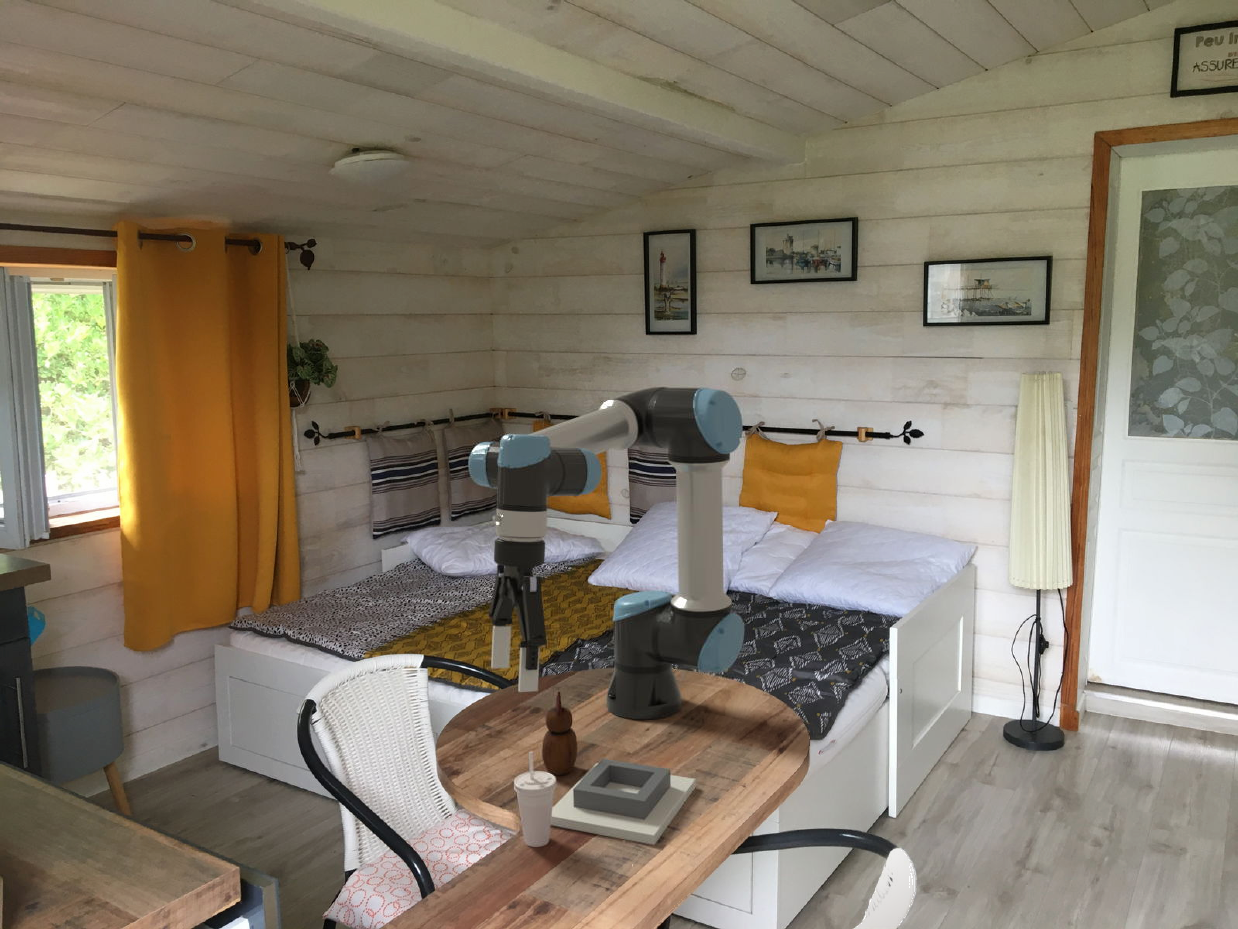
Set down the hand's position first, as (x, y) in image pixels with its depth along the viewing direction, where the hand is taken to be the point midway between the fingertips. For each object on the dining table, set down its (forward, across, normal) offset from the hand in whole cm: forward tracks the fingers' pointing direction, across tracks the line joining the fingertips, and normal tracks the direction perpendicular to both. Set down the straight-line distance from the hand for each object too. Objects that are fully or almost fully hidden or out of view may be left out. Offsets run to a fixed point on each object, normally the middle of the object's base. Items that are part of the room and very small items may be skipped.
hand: (513, 679), depth 153 cm
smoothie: (+25, +2, +4) cm, 25 cm away
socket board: (+22, -3, +21) cm, 31 cm away
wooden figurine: (+22, -19, +16) cm, 33 cm away
